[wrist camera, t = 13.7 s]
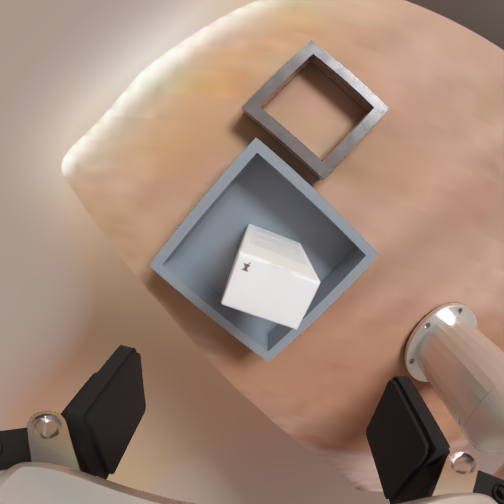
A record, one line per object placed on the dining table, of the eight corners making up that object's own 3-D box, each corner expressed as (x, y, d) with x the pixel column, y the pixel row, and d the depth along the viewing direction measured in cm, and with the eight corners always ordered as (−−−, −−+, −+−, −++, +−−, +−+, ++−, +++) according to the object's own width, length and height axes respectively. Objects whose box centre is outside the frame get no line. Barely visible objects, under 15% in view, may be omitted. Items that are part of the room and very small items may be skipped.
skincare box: (234, 259, 32) (217, 304, 21) (248, 222, 31) (237, 248, 20) (287, 279, 32) (297, 332, 21) (302, 243, 31) (322, 280, 20)
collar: (380, 113, 29) (389, 108, 26) (319, 179, 31) (324, 179, 28) (308, 49, 27) (311, 40, 25) (243, 113, 29) (241, 107, 27)
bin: (364, 243, 32) (379, 254, 27) (268, 339, 35) (268, 362, 31) (257, 143, 30) (256, 137, 25) (164, 253, 34) (148, 265, 29)
